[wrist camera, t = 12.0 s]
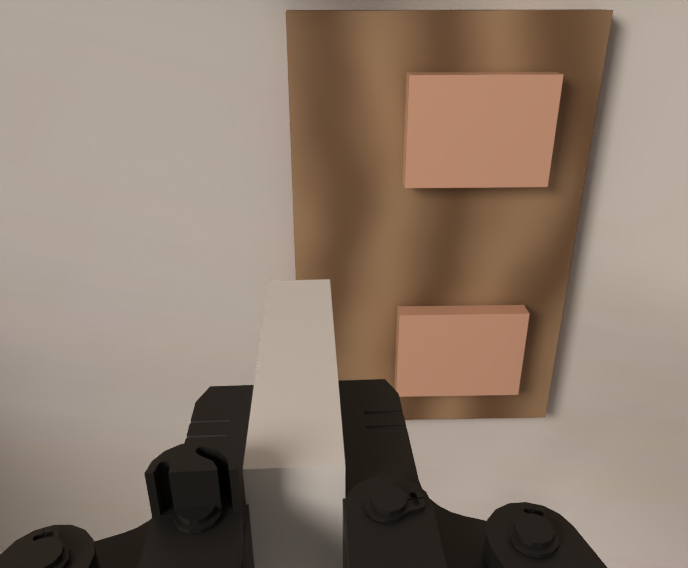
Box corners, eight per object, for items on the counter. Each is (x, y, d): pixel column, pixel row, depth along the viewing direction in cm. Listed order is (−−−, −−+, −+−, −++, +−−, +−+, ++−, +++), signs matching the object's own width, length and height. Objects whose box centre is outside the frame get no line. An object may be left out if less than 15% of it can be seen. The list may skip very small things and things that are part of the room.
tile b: (404, 188, 35) (547, 187, 35) (409, 75, 32) (563, 74, 32) (401, 180, 36) (539, 179, 36) (406, 71, 33) (553, 71, 34)
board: (302, 408, 44) (301, 421, 43) (287, 10, 33) (285, 11, 32) (538, 404, 45) (545, 417, 43) (601, 9, 34) (613, 10, 32)
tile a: (396, 396, 41) (518, 394, 41) (399, 315, 38) (529, 313, 38) (393, 383, 42) (511, 381, 42) (397, 304, 39) (522, 302, 40)
